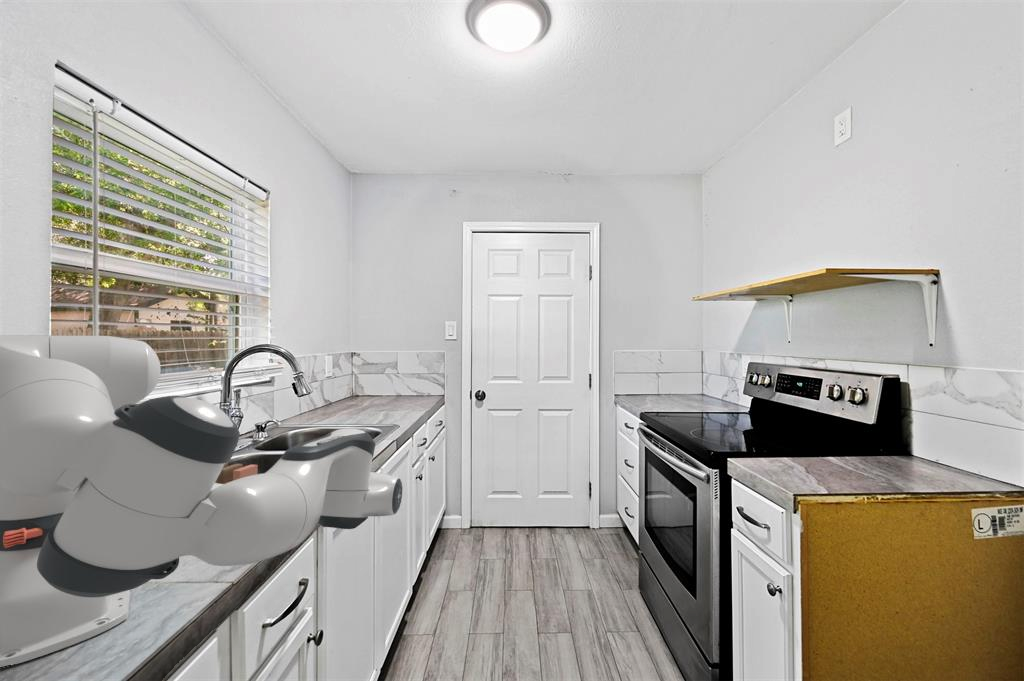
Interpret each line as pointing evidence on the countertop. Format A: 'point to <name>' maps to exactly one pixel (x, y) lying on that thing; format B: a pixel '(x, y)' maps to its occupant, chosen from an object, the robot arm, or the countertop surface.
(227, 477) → the tile
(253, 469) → the end tile
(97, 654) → the countertop surface
